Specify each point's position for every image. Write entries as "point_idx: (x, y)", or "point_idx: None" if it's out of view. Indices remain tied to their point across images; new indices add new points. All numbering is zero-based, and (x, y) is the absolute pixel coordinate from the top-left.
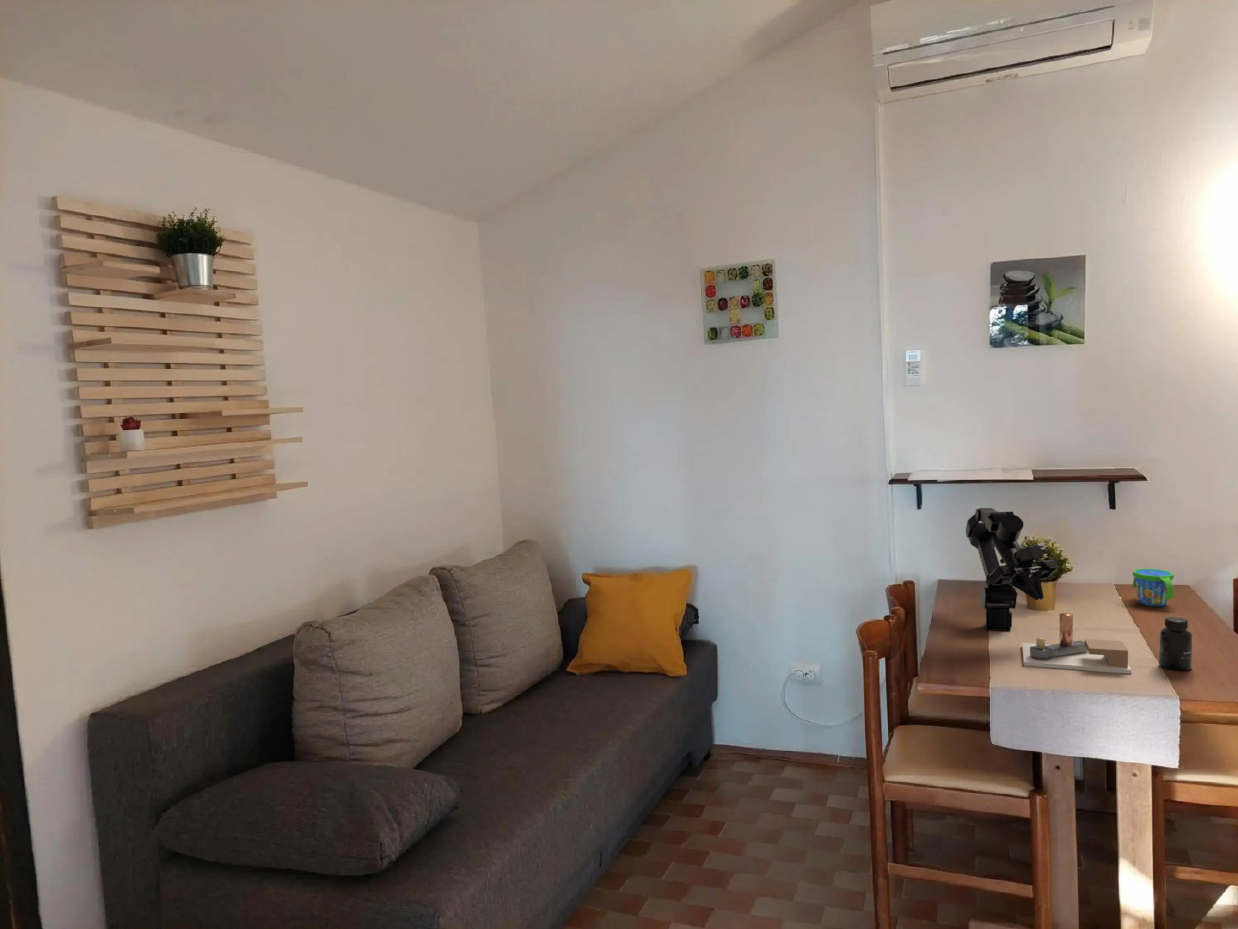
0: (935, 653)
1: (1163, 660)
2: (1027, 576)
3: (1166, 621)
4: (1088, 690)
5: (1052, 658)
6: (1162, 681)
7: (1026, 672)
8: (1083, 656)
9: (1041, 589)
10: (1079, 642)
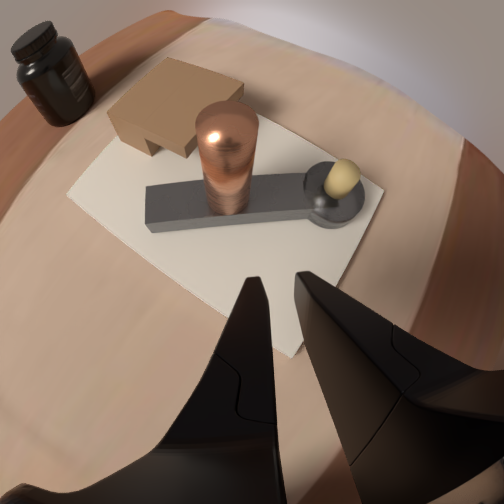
0: (498, 343)
1: (89, 90)
2: (483, 393)
3: (46, 34)
4: (322, 59)
5: None
6: (164, 55)
7: (391, 158)
8: (200, 171)
9: (238, 319)
10: (166, 203)
